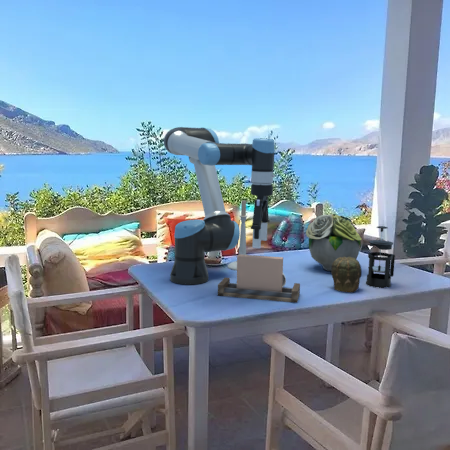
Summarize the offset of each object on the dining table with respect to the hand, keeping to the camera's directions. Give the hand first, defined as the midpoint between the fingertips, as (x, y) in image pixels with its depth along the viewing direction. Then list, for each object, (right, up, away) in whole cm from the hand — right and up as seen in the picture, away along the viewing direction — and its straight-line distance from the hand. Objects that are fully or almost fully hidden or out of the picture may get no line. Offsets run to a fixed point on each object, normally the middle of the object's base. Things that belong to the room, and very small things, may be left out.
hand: (259, 244), depth 169 cm
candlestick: (-5, -12, +42) cm, 44 cm away
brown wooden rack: (0, -18, +3) cm, 19 cm away
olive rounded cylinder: (+33, -18, +12) cm, 39 cm away
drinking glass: (+7, -12, +24) cm, 28 cm away
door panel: (0, -17, +2) cm, 18 cm away
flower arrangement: (+35, -13, +41) cm, 56 cm away
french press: (+48, -17, +19) cm, 54 cm away
